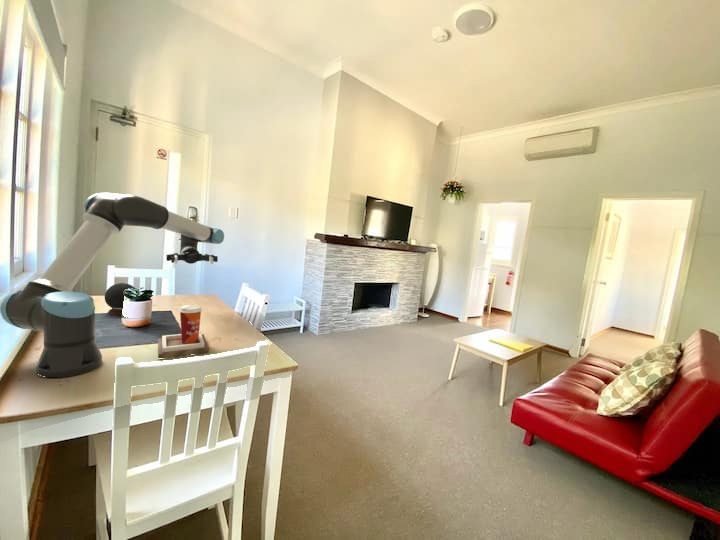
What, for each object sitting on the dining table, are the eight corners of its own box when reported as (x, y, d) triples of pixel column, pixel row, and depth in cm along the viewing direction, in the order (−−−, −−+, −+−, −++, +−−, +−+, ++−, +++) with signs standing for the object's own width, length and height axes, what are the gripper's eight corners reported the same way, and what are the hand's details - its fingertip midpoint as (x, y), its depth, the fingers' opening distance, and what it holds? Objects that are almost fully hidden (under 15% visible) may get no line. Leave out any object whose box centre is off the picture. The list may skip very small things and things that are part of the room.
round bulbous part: (130, 317, 148) (130, 286, 146) (98, 316, 145) (98, 285, 143) (143, 309, 161) (143, 281, 159) (113, 309, 158) (113, 280, 156)
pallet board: (158, 359, 107) (158, 350, 107) (158, 343, 121) (158, 335, 120) (208, 353, 116) (208, 344, 116) (203, 338, 129) (203, 330, 129)
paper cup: (190, 346, 116) (191, 310, 114) (173, 343, 117) (174, 307, 116) (205, 340, 123) (206, 306, 121) (189, 337, 125) (190, 303, 123)
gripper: (218, 263, 157) (225, 269, 139) (159, 262, 143) (160, 268, 125) (218, 248, 156) (226, 253, 138) (159, 246, 142) (160, 250, 124)
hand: (194, 260), depth 132 cm, fingers open, 13 cm apart
